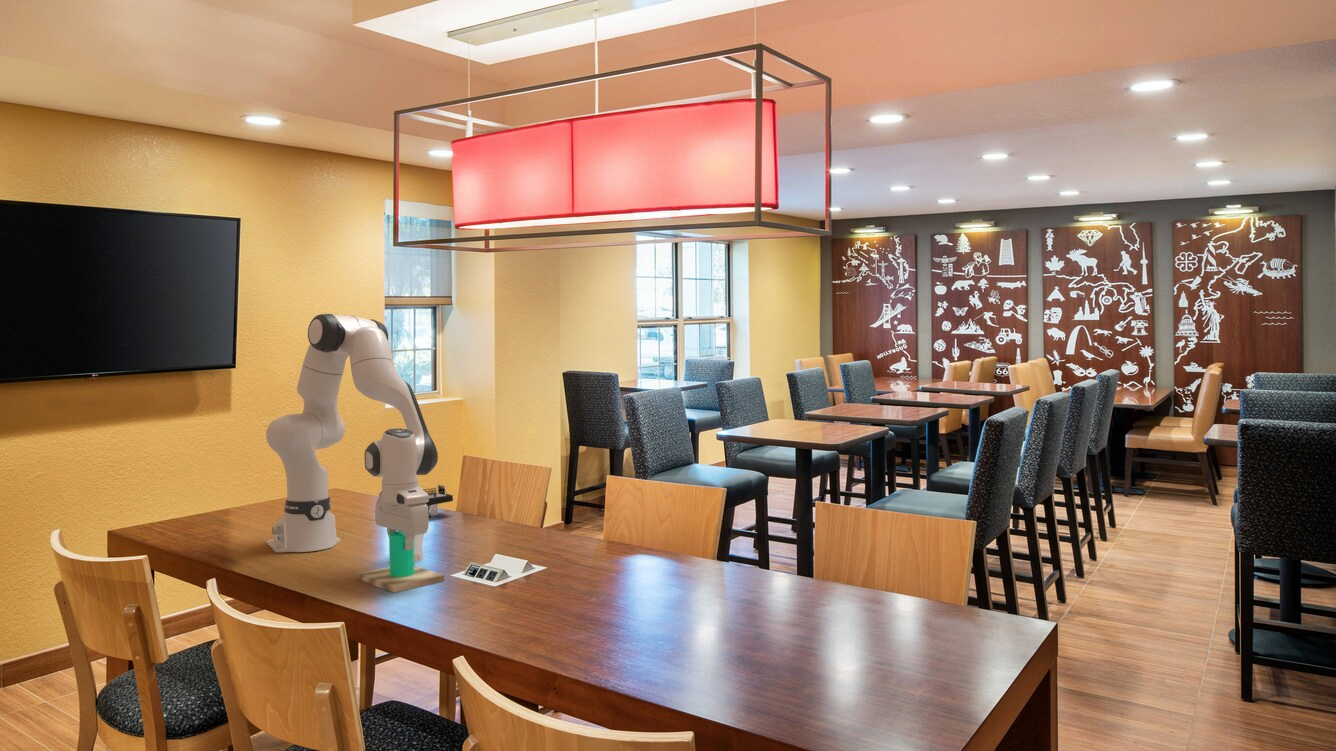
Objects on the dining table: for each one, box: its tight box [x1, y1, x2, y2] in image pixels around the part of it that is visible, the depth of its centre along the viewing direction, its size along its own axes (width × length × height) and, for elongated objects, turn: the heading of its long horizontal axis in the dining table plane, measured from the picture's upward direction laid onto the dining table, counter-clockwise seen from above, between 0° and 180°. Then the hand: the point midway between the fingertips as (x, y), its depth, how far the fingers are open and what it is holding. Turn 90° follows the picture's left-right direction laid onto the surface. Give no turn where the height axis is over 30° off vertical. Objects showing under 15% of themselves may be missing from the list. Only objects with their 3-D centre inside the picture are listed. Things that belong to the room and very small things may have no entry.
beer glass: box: [414, 534, 425, 562], centre depth 240 cm, size 7×7×15 cm
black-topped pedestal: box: [421, 484, 454, 521], centre depth 288 cm, size 28×26×13 cm
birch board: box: [357, 565, 445, 594], centre depth 221 cm, size 18×14×2 cm
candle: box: [388, 531, 415, 577], centre depth 221 cm, size 6×6×12 cm
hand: (401, 547), depth 221 cm, fingers closed on candle, 5 cm apart
